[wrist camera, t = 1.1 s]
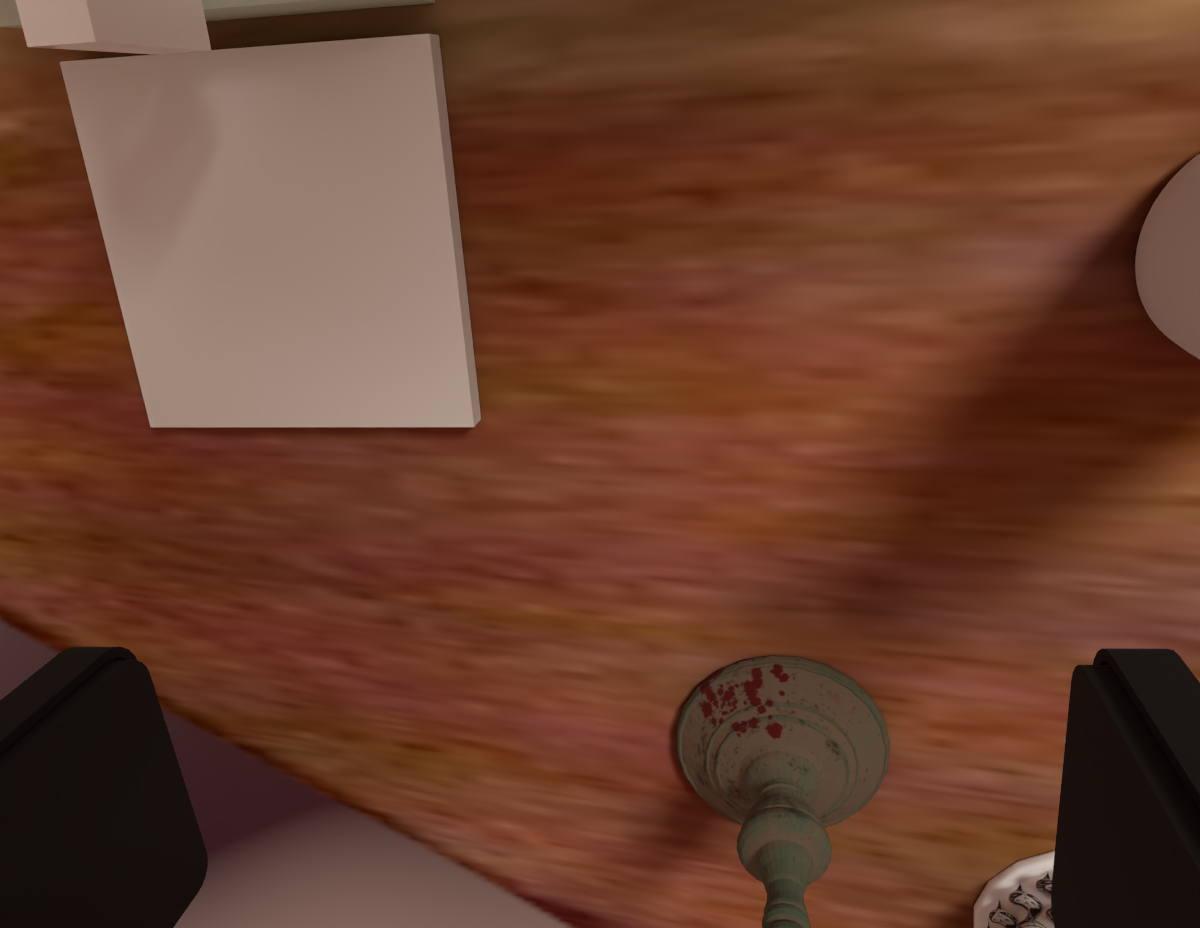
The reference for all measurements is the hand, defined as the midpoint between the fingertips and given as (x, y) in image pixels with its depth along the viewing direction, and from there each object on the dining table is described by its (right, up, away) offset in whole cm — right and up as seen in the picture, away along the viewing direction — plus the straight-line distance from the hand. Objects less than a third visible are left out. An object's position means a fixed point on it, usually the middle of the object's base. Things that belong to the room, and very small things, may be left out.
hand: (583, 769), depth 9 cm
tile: (-12, +11, +26) cm, 31 cm away
